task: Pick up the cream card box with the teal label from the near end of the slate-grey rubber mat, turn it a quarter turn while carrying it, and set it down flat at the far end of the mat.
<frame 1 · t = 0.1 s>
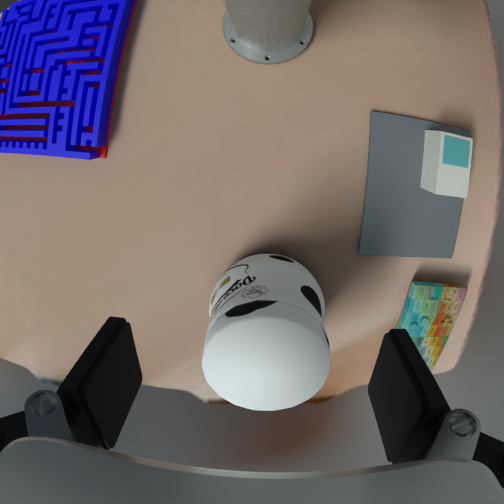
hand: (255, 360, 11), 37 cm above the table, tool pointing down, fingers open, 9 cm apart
puzzle game: (417, 323, 53), on the table
card box: (438, 161, 41), point 1 cm above the table, touching mat
mat: (418, 189, 44), on the table
maze: (51, 69, 39), on the table
milk container: (267, 295, 52), on the table
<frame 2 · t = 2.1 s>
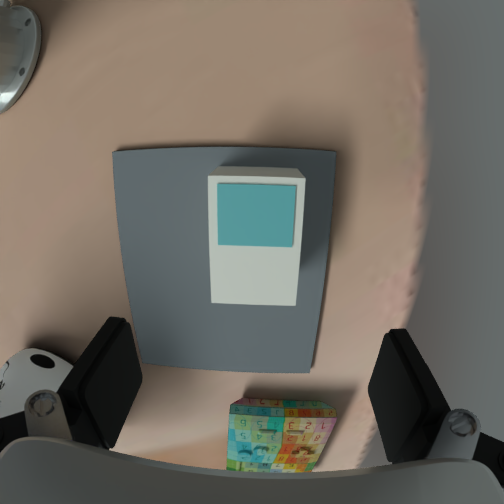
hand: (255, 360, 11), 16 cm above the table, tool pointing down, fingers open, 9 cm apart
puzzle game: (272, 437, 38), on the table
card box: (256, 222, 25), point 1 cm above the table, touching mat
mat: (221, 274, 28), on the table
milk container: (66, 385, 36), on the table
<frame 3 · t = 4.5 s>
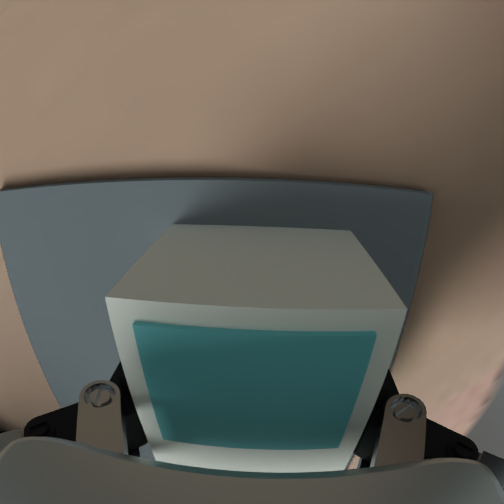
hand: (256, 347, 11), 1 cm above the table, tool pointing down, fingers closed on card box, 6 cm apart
card box: (257, 338, 12), point 1 cm above the table, touching gripper, mat
mat: (195, 403, 15), on the table
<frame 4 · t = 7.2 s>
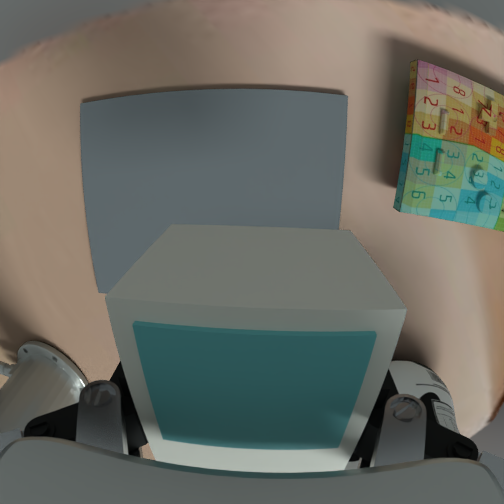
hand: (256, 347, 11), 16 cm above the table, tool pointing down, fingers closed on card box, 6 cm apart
puzzle game: (480, 157, 23), on the table
card box: (257, 338, 12), point 15 cm above the table, touching gripper
mat: (203, 200, 25), on the table
milk container: (371, 399, 33), on the table
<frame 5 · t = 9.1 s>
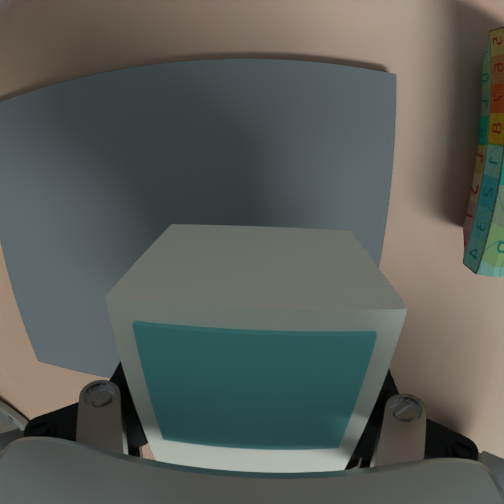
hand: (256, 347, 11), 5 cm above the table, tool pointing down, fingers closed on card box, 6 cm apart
card box: (257, 338, 12), point 4 cm above the table, touching gripper
mat: (156, 250, 15), on the table
when the fingers open (3 cm above the table, at t = 10.4 s): card box drops 2 cm, resting on mat.
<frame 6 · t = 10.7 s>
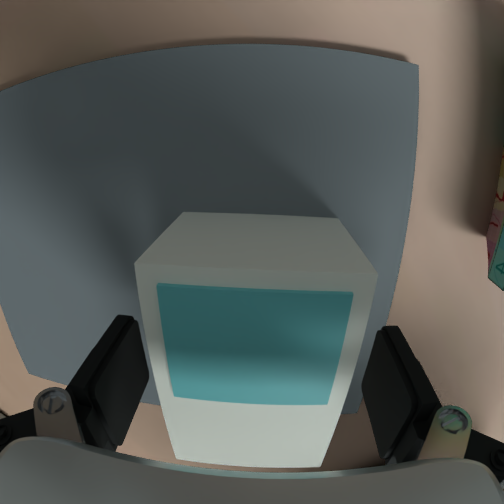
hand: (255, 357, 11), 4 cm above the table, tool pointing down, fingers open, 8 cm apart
card box: (256, 315, 14), point 1 cm above the table, touching mat
mat: (148, 261, 14), on the table
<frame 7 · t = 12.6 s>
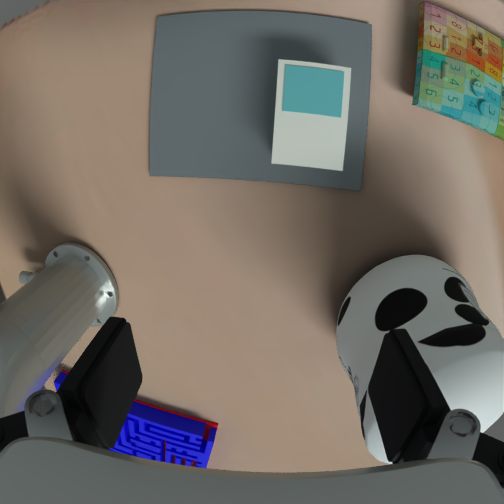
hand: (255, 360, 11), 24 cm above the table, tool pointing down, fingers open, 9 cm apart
puzzle game: (480, 86, 25), on the table
card box: (307, 115, 28), point 1 cm above the table, touching mat
mat: (258, 92, 28), on the table
maze: (138, 437, 54), on the table
milk container: (397, 308, 36), on the table
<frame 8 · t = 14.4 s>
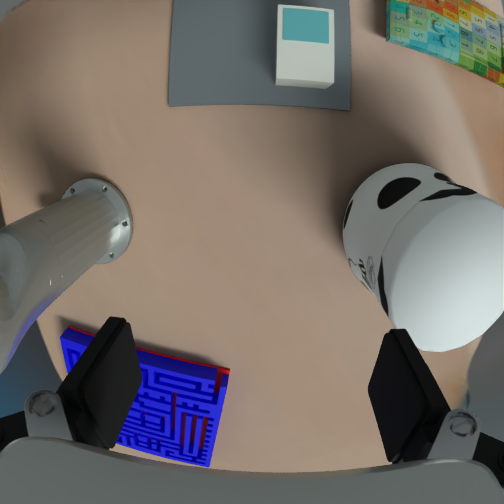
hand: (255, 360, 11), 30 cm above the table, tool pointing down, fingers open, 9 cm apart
puzzle game: (443, 31, 29), on the table
card box: (301, 52, 32), point 1 cm above the table, touching mat
mat: (260, 37, 32), on the table
maze: (146, 400, 56), on the table
milk container: (396, 222, 40), on the table
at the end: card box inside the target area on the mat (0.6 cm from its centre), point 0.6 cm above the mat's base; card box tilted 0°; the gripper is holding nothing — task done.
